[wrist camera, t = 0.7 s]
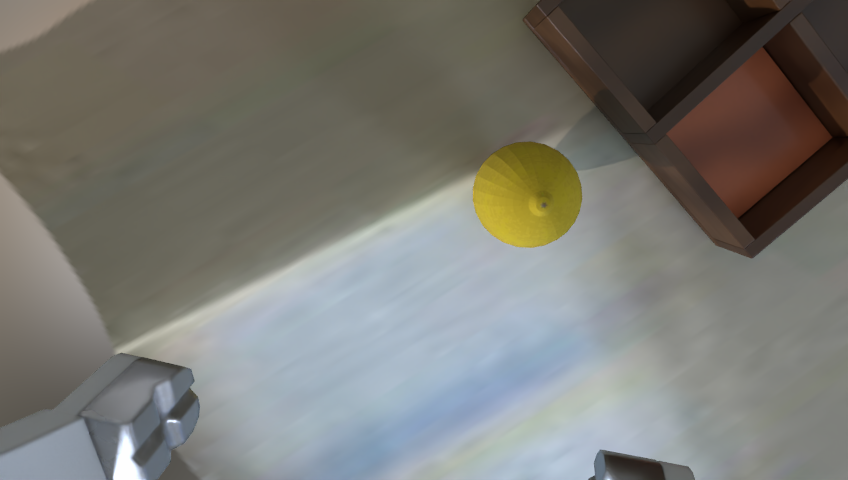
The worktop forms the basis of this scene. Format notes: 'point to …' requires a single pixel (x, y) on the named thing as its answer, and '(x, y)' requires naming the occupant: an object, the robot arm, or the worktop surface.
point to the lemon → (527, 194)
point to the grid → (718, 100)
